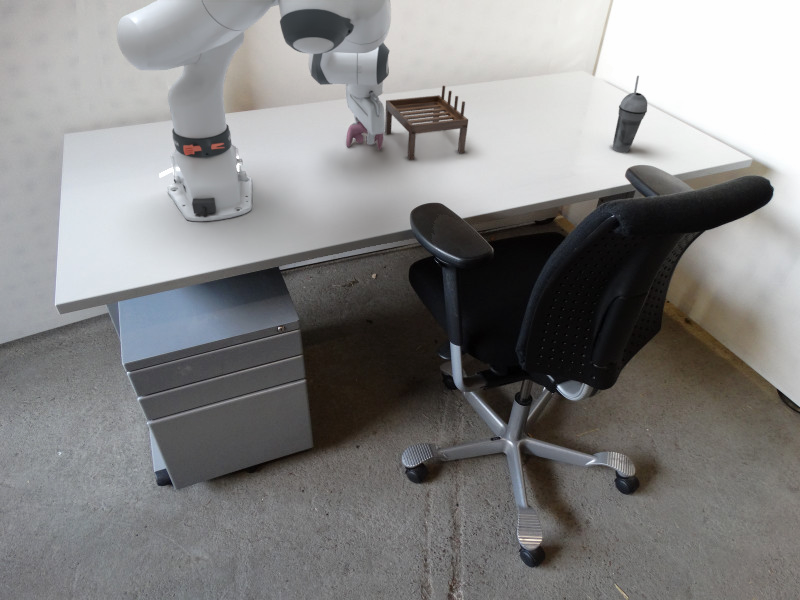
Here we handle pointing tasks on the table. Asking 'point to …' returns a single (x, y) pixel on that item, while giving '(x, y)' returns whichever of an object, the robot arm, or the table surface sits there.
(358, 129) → the video game controller
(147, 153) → the table surface
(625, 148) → the beverage cup
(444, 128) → the rack
